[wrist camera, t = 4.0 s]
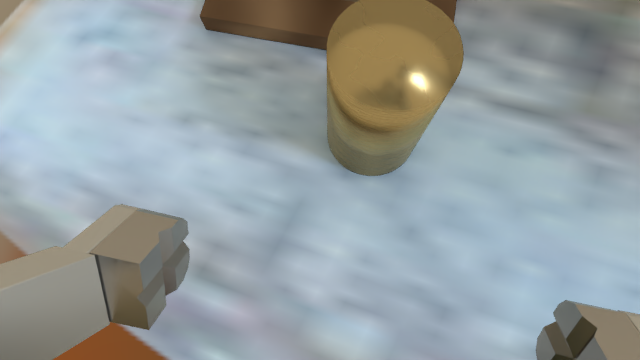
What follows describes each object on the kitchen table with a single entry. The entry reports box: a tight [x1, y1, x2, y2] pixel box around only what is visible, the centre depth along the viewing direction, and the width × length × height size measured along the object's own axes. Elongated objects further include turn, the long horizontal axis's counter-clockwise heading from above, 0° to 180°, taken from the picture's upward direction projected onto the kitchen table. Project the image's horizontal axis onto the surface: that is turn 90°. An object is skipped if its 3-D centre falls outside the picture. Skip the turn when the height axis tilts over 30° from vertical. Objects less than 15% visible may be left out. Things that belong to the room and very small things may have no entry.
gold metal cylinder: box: [327, 0, 463, 176], centre depth 17 cm, size 5×5×8 cm
